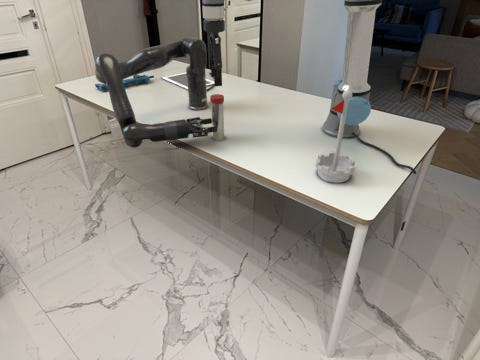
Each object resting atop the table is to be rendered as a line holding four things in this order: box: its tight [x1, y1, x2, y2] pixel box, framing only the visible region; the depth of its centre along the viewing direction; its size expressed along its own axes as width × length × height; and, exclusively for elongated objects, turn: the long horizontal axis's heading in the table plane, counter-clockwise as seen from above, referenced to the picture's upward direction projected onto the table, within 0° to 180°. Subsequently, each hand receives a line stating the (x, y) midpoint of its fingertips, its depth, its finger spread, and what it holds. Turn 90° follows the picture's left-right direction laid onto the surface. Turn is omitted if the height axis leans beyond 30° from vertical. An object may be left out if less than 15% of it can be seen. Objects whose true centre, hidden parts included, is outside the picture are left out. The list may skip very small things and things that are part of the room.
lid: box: [209, 93, 225, 104], centre depth 135 cm, size 5×6×2 cm
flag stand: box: [315, 90, 356, 183], centre depth 111 cm, size 13×13×30 cm
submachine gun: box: [94, 74, 155, 92], centre depth 207 cm, size 34×4×25 cm
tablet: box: [161, 71, 215, 91], centre depth 211 cm, size 32×20×1 cm, turn 41°
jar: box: [210, 102, 225, 142], centre depth 139 cm, size 5×5×18 cm
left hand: (214, 124), depth 140 cm, fingers open, 8 cm apart
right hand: (216, 81), depth 131 cm, fingers open, 11 cm apart
